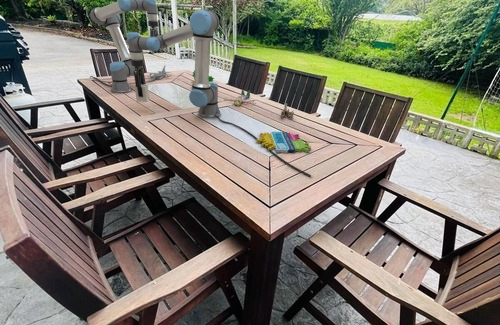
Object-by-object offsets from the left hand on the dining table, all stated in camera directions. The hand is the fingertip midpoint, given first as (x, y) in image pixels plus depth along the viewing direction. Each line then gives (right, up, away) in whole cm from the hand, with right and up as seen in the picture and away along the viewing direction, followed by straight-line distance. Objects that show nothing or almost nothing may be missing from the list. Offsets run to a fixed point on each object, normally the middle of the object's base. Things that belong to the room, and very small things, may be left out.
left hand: (156, 50), depth 209 cm
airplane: (-21, 0, +67) cm, 71 cm away
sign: (+94, -78, -57) cm, 135 cm away
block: (+2, -47, -29) cm, 55 cm away
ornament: (+30, -19, +42) cm, 55 cm away
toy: (+68, -38, +11) cm, 79 cm away
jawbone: (+102, -56, -16) cm, 117 cm away
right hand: (+2, -44, -31) cm, 54 cm away
